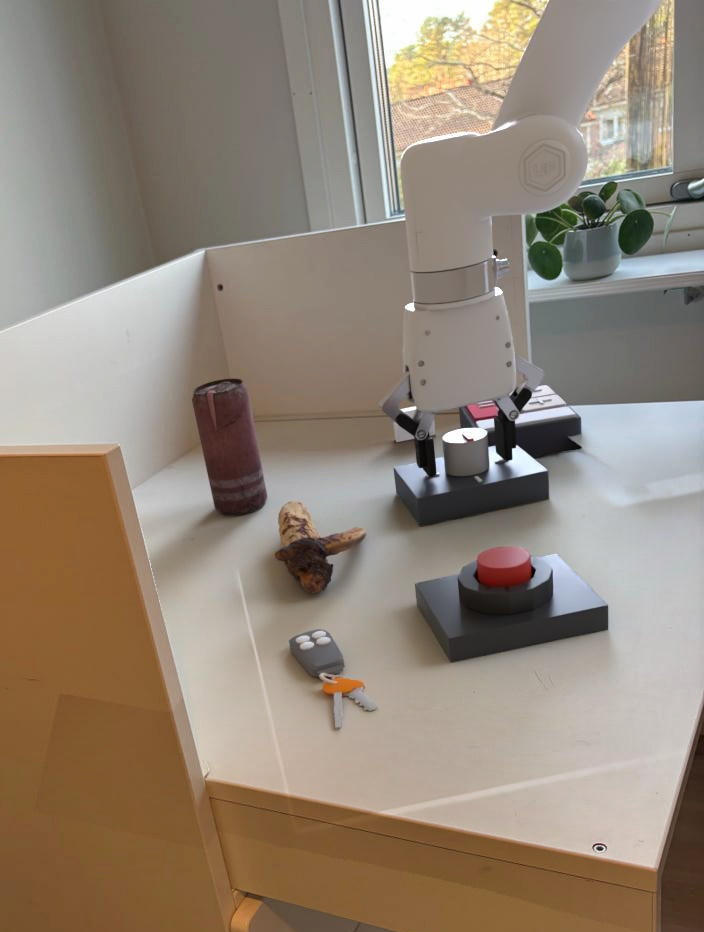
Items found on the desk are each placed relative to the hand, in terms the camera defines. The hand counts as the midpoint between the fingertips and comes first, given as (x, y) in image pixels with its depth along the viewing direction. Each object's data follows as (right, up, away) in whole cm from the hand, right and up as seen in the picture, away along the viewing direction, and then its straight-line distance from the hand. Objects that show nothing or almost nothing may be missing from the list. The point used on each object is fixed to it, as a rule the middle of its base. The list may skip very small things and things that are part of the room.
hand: (466, 463), depth 97 cm
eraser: (-1, +7, +21) cm, 22 cm away
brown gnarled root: (-15, -10, -4) cm, 19 cm away
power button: (-3, -13, -23) cm, 27 cm away
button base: (-2, -16, -21) cm, 27 cm away
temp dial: (0, 0, 0) cm, 1 cm away
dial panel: (+1, -3, +2) cm, 4 cm away
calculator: (+9, +5, +14) cm, 18 cm away
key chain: (-16, -21, -24) cm, 36 cm away
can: (-23, -3, +12) cm, 26 cm away
